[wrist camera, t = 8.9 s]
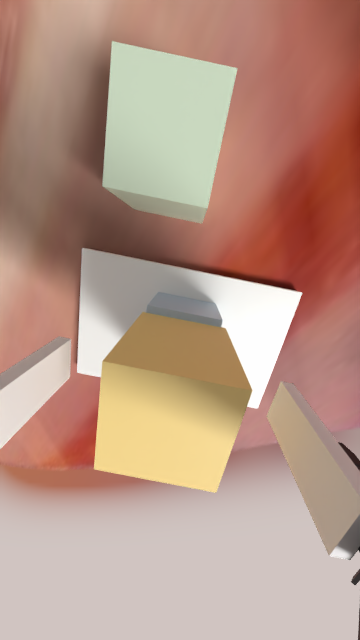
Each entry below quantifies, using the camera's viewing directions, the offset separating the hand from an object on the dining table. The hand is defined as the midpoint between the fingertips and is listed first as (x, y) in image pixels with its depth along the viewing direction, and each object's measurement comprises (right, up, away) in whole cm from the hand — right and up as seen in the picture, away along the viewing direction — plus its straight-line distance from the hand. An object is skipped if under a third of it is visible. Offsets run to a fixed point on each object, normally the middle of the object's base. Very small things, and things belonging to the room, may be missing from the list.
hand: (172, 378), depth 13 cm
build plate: (+1, +3, +8) cm, 9 cm away
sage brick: (0, +15, +4) cm, 16 cm away
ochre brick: (0, +1, +3) cm, 3 cm away
